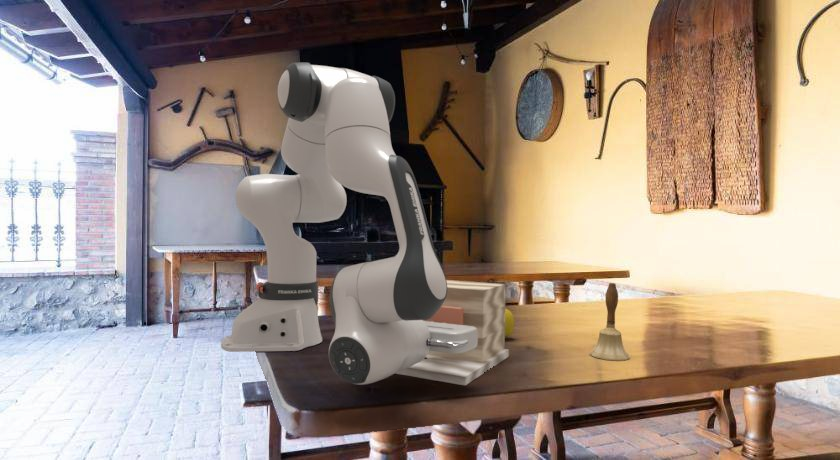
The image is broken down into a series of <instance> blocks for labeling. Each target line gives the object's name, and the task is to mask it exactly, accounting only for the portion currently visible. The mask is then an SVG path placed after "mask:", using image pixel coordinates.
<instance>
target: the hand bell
mask: <svg viewBox="0 0 840 460" xmlns="http://www.w3.org/2000/svg"><path fill="white" fill-rule="evenodd" d="M618 302H619V292H618V290H617V283H616V282H615V283H614V282H609V283H608V287H607V289H606V291H605V307H606V309H607V310H606V312H607V315H606V317H607V318H606V320H607V321H606V327H605V328H603V329H601V330H600V331H599V333H598V339H597V342H596V345H595V346H594V348H592V349H591V350H590V352H589V355H590V356H591V357H593V358H597V359H599V360H605V361H616V362H621V361H623V362H625V361H628V360H630V359H631V356H630V354H629V353H628V352H627V350H626V349H625V346H624V344H623V338H622V332H621V331H619V330H618V329H616V309H617V307H618Z"/></svg>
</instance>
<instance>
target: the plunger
mask: <svg viewBox="0 0 840 460" xmlns="http://www.w3.org/2000/svg"><path fill="white" fill-rule="evenodd" d="M427 321H429V322H432V321H433V322H442V323H447V324H456V325H463V308H459V307H449V306H441V307H440V309H439V310H438V311H437V312H436V313H435V315H434V316H433V317H432V318H430V319H428V320H427Z"/></svg>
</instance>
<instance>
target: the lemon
mask: <svg viewBox="0 0 840 460" xmlns="http://www.w3.org/2000/svg"><path fill="white" fill-rule="evenodd" d="M514 329H515V317H514V314H513V313H512V311H510V309H508V308H506V307H505V338H507V337H509V336H510V335H511V334H512V333H513V332H514Z"/></svg>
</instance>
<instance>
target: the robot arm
mask: <svg viewBox="0 0 840 460" xmlns="http://www.w3.org/2000/svg"><path fill="white" fill-rule="evenodd" d="M277 99H278V102H279V104H278V105H279V108H280V110H281V112H282V113H283V114H284V115H285V117H287V118H288V119H287V123H286V128H285V129H284V130H285V131H284V134H283V139H282V143H281V146H280V154H281V158H282V160H283V162H284V163H285V164H286V165H287V167H288V168H289V169H291V170H292V171H293V172H295V173H296V174H294V175H292V174H291V175H289V174H277V173H276V174H275V173H273V174H272V173H262V174H254V175H252V174H251V175H247V176H244V178H242V180H241V181H240V182H239V183H238V186H236V190H235V194H234V195H235V196H234V199H235V200H234V201H235V205H236V207H237V208H236V209H237V210H238V211H239V213H240V215H241V216H243V218H244V219H246V220H247V221H248V222H250V223H251V224H252V225H253V227H255V228H256V229H257V231H258V232H259V234H260V236H261V238H262V239H263V243H264V245H265V249H266V250H265V251H266V259H267V281H265V282H263V281H260V282H258V283H257V284H256V286H255V289H256V291H257V293H258V295H257V296H258V298H257V300H255V301H253V302H252V303H251V304H250V305H249V306H247V307H246V308H244V310H242V311H241V312H240V313H239V314H237V316H236V317H235V319H234V321H233V323H232V328H231V333H230V335H227V336H225V337H224V338H222V340H221V346H220V347H221V349H222V350H224V351H225V352H229V353H231V352H232V353H241V352H242V353H243V352H244V353H245V352H247V353H248V352H251V353H252V352H291V351H292V352H296V351H300V350H303V349H305V348H308V347H312V346H316V345H318V344H320V343H322V342H323V335H322V333H321V329H320V324H319V316H318V303H319V282H318V281H317V254H318V253H317V251H316V248H315V246H314V245H313V244H312V243H311V241H308V240H306V239H305V238H302V237H301V236H299V235H297V234H296V231H295V230H294V227H293V226H294V225H293V223H304V224H305V223H310V224H311V223H312V224H313V223H315V224H316V223H318V224H319V223H325V222H330V221H335V220H338V219H340V218H341V216H342V215H343V214H344V212H345V210H346V206H347V202H348V201H347V193H346V190H345V188H347V189H349V190H351V191H354V192H358V193H362V194H366V195H367V194H368V195H373V196H374V195H375V196H381V197H383V198H385V200H387V202H388V205H389V209H390V212H391V213H390V214H391V216H392V221H393V225H394V229H395V233H396V237H397V238H396V239H397V242H398V245H399V246H398V247H399V249H398V252H397V254H396V255H394V256H391V257H388V258H382V259H377V260H373V261H366V262H361V263H357V264H352V265H349V266H344V267H342V268H340V270H338V271H337V273H336V275H335V277H334V278H333V280H332V283H331V286H330V289H329V297H328V299H329V300H328V302H329V309H330V313H331V318H332V320H333V322H334V325H335V330H334V334H333V336H332V338H331V341H330V344H329V347H328V360H329V363H330V367H331V368H332V370H333V371H334V372H335V374H336V375H337V376H338V377H339V378H340V379H342V380H344V381H345V382H347V383H350V384H352V385H361V386H363V385H369V384H370V385H371V384H373V383H376V382H379V381H381V380H384V379H387V378H389V377H391V376H393V375H394V374H395V373H396V372H397V371H400V370H404V369H406V368H408V367H410V366H412V365H414V364H416V363H418V362H420V361H422V360H423V359H424V358H425V357H426V356H427V354H428V352H429V351H437V352H444V353H462V352H466V351H469V350H471V349H474V348H476V347H477V344H478V330H477V328H476V327H474V326H465V325H456V324H447V323H442V322H433V321H432V322H429V321H423V320H428V319H430V318H432V317H433V316H434V315H435V313H436V312H437V311H438V310H439V309H440V307H441V306H442V304H443V302H444V301H445V299H446V296H447V282H446V280H447V277H446V274H445V271H444V268H443V266H442V263H441V261H440V258H439V256H438V254H437V252H436V248H435V246H434V242H433V238H432V233H431V229H430V226H429V223H428V220H427V216H426V212H425V208H424V204H423V200H422V197H421V193H420V190H419V187H418V184H417V180H416V177H415V175H414V172H413V170H412V168H411V166H410V164H409V163H408V161H407V160H406V159H405V158H403V157H402V156H400V155H396V153H395V151H394V149H393V146H392V140H391V131H390V122H391V121H392V118H393V116H394V112H395V107H396V95H395V91H394V89H393V87H392V84H391V83H390V82H388V81H387V80H385V79H383V78H381V77H379V76H376V75H372V76H371V75H369V74H366V73H364V72H363V73H362V72H359V71H357V70H353V69H349V68H345V67H334V66H328V65H321V64H320V65H318V64H311V63H310V62H302V61H301V62H299V61H298V62H291V63H290V64H289V65H287V66H286V67H285V68H284V70H283V71H282V75H281V76H280V79H279V82H278V84H277Z"/></svg>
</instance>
